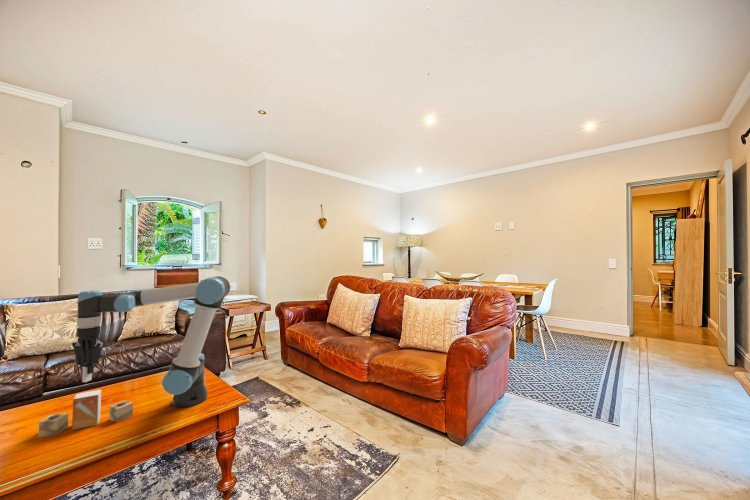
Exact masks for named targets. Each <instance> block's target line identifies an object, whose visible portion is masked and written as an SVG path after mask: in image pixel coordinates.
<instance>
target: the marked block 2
mask: <svg viewBox="0 0 750 500" xmlns="http://www.w3.org/2000/svg"><path fill="white" fill-rule="evenodd" d="M133 408H134V403H133V402H131V401H128V400H122V401H120V402H116V403H115V404H112V405H110V406H109V409H108V410H109V412H108V413H109V415H108V416H109V418H108V419H109V421H112V422H114V423H119V422H122V421H124V420H127V419H129V418H131V417H133V411H134V410H133Z"/></svg>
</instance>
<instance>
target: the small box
mask: <svg viewBox="0 0 750 500" xmlns="http://www.w3.org/2000/svg"><path fill="white" fill-rule="evenodd" d="M101 402H102V389H97V390H90V391H85V392H81V393H76V395H75V396H74V397H73V400H72V418H71V420H72V421H71V431H74V430H79V429H83V428H88V427H92V426H93V427H94V426H97V425H98V424H99V422H100V420H101V414H102V413H101V411H102V410H101V409H102V403H101Z"/></svg>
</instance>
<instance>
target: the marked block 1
mask: <svg viewBox="0 0 750 500" xmlns="http://www.w3.org/2000/svg"><path fill="white" fill-rule="evenodd" d="M69 414H70V413H69V412H68V413H67V412H63V413H52V414H50V415H48V416H46V417H45V418H42V419H41V420H40V421H38V438H40V437H52V436H57V435H59V434H60V433H62V432H63V431H64V430H66V429H67V428H69Z"/></svg>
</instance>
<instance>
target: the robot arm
mask: <svg viewBox="0 0 750 500" xmlns="http://www.w3.org/2000/svg"><path fill="white" fill-rule="evenodd" d="M230 290H231V284H230V282H229V280H228V279H226V278H225V277H223V276H212V277H211V276H210V277H207V278H205V279H202V280H200V281H199V282H195V283H194V282H193V283H187V284H186V283H184V284H180V285H179V284H178V285H171V286H164V287H157V288H149V289H142V290H132V291H130V292H125V293H119V294H106V295H105V294H103V293H102V291H101V290H97V289H95V290H94V289H93V290H83V291H80V292H79V293H78V294H77V295H78V297H77V316H76V317H77V319H76V327H77V328H76V337H77V340H76V341H75V342H72V343H71V345H72V347H73V351H74V356H75V357H74V358H75V361H76V362H75V363H76V365H77V366H80V367H81V374H82V376H81V380H82V381H81V383H87V382H90V381H92V379H93V378H92V377H93V372H94V366H95V365H97V364H99V362H100V357H101V355H102V354H101V353H102V350H103V347H104V345H105V341H101V340H100V337H99V336H100V334H101V321H102V320H101V317H102V313H125V312H127V313H128V312H131V311H132V310H133V309H134V308H137V307H144V306H150V305H157V304H163V303H172V302H177V301H178V302H179V301H184V300H190V299H194V301H193V304H194V305H195V309H194V312H193V315H192V317H191V320H190V323H189V326H188V328H187V331H186V333H185V336H184V339H183V342H182V344H181V347H180V350H179V353H178V354H177V355H178V356H176V357H174V358H173V359H172V362H171V363H170V366H169V369H168V371H167V372H166V374H164V377H163V378H162V382H161V384H162V388H163V390H164V392H166V393H168V394H170V395H173V398H172V406H174V407H175V408H187V407H192V405H193V406H196V405H198V404H197V403H199V404H201V403H203V402H205V401H206V400H207V399H206V398H208V397H207V396H208V390H207V387H206V384H205V354H204V353H202V350H203V347H204V345H205V342H206V339H207V337H208V335H209V332H210V331H209V330H210V328H211V325H212V322H213V320H214V317H215V314H216V311H218V310H220V309H221V307H222V305H223V302H224V299H225V297H227V296H228V295H229V293H230ZM205 399H206V400H205ZM202 401H203V402H202ZM200 402H201V403H200ZM195 404H196V405H195Z"/></svg>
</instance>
